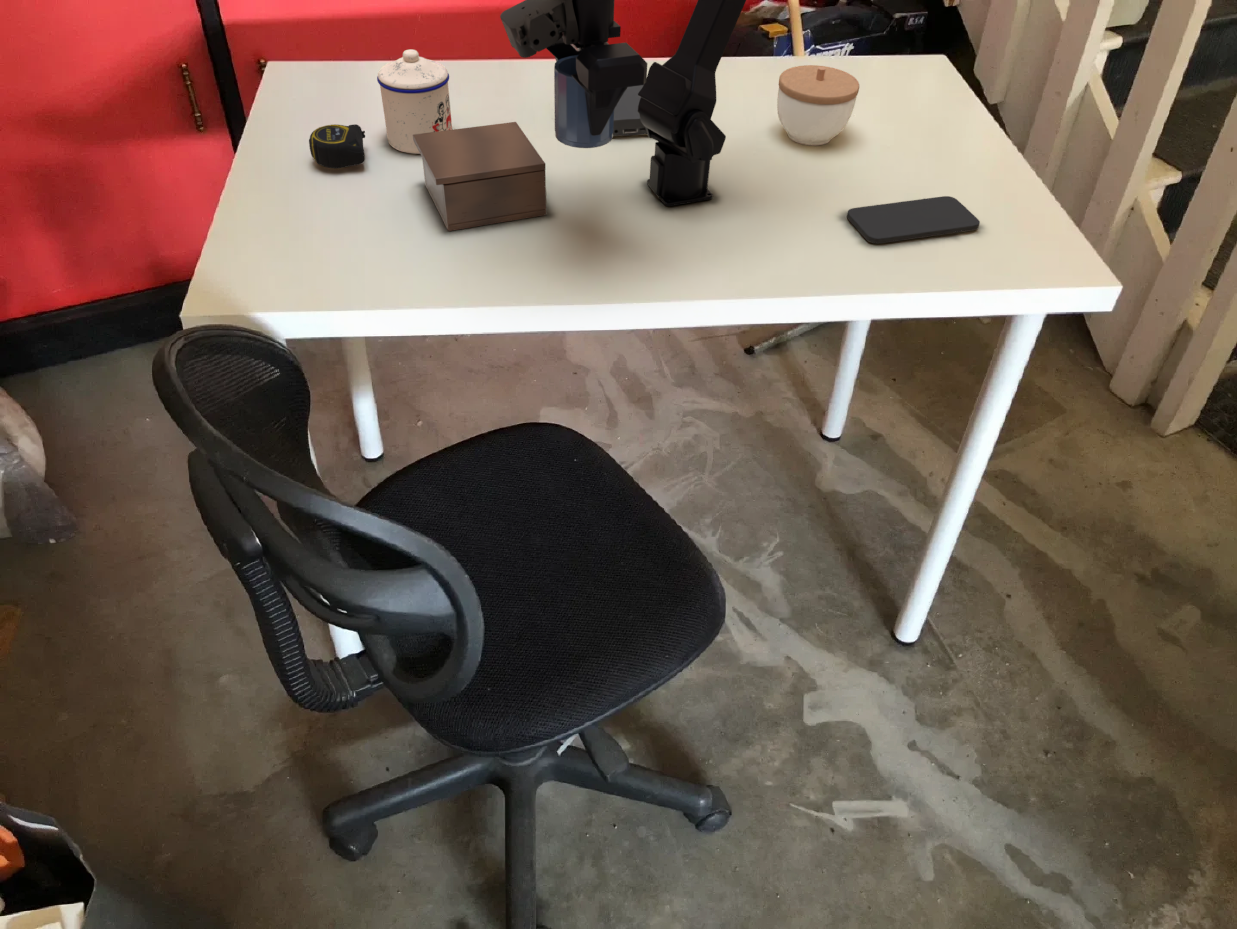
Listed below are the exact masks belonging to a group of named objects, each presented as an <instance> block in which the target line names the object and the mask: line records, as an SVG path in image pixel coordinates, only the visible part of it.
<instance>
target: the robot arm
mask: <svg viewBox="0 0 1237 929" xmlns="http://www.w3.org/2000/svg"><path fill="white" fill-rule="evenodd" d="M615 2H616V0H523V1H521V2H519V3H517V4H515V5H513V6H511V7H509V8H506V9H505V10H504V11H502V12H501V13H500V15H499V18H500V21H501V22H502V26H503V28H504V30H505V33H506V35H507V38H508V41H509V43H510V46H511V47H512V48H513V49H514V50H515V51H516V52H517V53H518V56H519V57H520V58H522V59H523V58H524V59H528V58H530V57H533V56H536V54H537V53H539V52H541V51H544V50H545V49H546V50H547V51H548V52H549V53H550V54H551V55H552V56H553V57H554V58H555V63H556V62H557V61H558V60H559V59H562V58H565V57H568V56H574V55H578V56H577V57H576V70H577V74H573V75H572V77H573V78H574V79H575V80H576V81H577V83H578V84H579V85H580V86H581V87H582V88H584V90H585V97H586V105H587V114H588V122H589V128H590V134H591V135H592V136H596V135H600V134H601V133H602V131H603V129H604V128H605V126H606V124H607V122H608V120H609V118H610V116H611V114H612V113H613V111H614V109H615V107H616V105H617V103H618V102H619V100H620V98H621V97H622V95H623V94H624V92H625V90H626V89H627V87H632V86H639V85H643V87H642V89H641V90H640V91H639V93H638V96H640V97H641V98H640V101H639V105H638V113H639V115H640V120H641V122H642V124H643V125H644V126H645V128H646V132H647V134H646V135H647V137H649V138H650V139H653V140H655V141H656V142H655V143H654V155H651V157H650V164H649V165H650V166H649V168H650V169H649V178H648V179H647V180H646V183H647V185H648V187H649V188H650V189H651V190H652V192H653V193H654V194H655V195H656V197H657V198H658V199H659V200H660V202H662V204H663V205H664V206H666V207H674V206H680V205H686V204H691V203H697V202H702V201H710V200H712V199H714V194H713V193H712V191H711V190H710V189H709V188H708V186H709V179H710V178H709V177H710V169H711V161H712V160H713V157H715V156H717V155H719V154H720V153H721V152H722V150H723V147H724V144H725V141H726V134H725V133H724V132H723V131H722V129H720V128H719V127H718V125H717V124H716V123H715V122H714V121H713V120H712V116H713V115H714V114H713V113H714V111H715V107H716V104H717V83H716V72H717V70H718V67H719V64H720V62H721V59H722V57H723V55H724V53H725V50H726V48H727V46H728V43H729V41H730V39H731V36H732V35H733V32H734V30H735V27H736V25H737V23H738V21H739V18H740V16H741V13H742V11H743V8H744V6H745V5H746V2H747V0H697V1H696V4H695V6H694V9H693V11H692V14H691V16H690V19H689V22H688V24H687V25H686V29H685V31H684V33H683V35H682V38H681V40H680V43H679V45H678V48H677V50H676V52H675V53H674V55H672V56H671V57H670V58H668V60H666V61H665V62H663V64H661V63H659V62H657V61H653V63H652V64H651V65H650V66H649V69H648V62H647V61H646V60H645V59H644V57H642V56H641V55H640V54H639V52H637V51H636V50H635V49H634V48H633V47H632V46H630V44H628V42H618V43H609V39H613V38H620V37H621V31H622V30H621V28H622V27H621V25H620V24H618V23H617V22H616V20H615Z"/></svg>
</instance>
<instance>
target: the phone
mask: <svg viewBox="0 0 1237 929" xmlns="http://www.w3.org/2000/svg"><path fill="white" fill-rule="evenodd" d="M846 218H847V220H848V221H849V222H850V224H852V226H853V227H854V228H855V229H856V230H857V231H858V232H859V234H860V235H861V236H862V237H863V238H864V239H865V241H867V242H868V243H871V244H876V245H877V244H885V243H886V244H887V243H893V242H900V241H907V240H915V239H920V238H921V239H922V238H928V237H935V236H942V235H943V236H944V235H950V234H957V233H964V232H970V231H971V232H972V231H975V230H978V229H979V227H980V224H981V222H980V220H979V219H978V218H977V217H976V216H975V215H974V214H973V213H972V212H971V211H970V210H969V209H968V208H967V207H965V205H963V203H961V202H960V200H958V199H957V198H955V197H954V196H948V195H944V196H943V195H942V196H936V197H928V198H919V199H912V200H905V201H897V202H890V203H881V204H874V205H867V206H859V207H853V208H850V209H848V210H847V212H846Z"/></svg>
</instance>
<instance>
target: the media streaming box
mask: <svg viewBox="0 0 1237 929" xmlns="http://www.w3.org/2000/svg"><path fill="white" fill-rule="evenodd" d="M642 87H643V85H639V86H632V87H627V89H626V90H625V92H624V94H623V95H622V97H621V98H620V100H619V102H618V103H617V105H616V107H615V109H614V125H613V137H623V136H624V137H625V136H626V137H627V136H640V135H642V136H643V135H647V132H646V128H645V126H644V125H643V124H642V122H641V120H640V115H639V113H638V105H639V101H640V98H641V97H640V96H638V93H639V91H640V90H641V89H642Z"/></svg>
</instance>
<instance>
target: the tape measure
mask: <svg viewBox="0 0 1237 929" xmlns="http://www.w3.org/2000/svg"><path fill="white" fill-rule="evenodd" d="M365 134H366V132H365V130H362V127H361V126H360V125H359V124H358V123H357V124H355V123H354V124H349V125H345V124H326V125H323V126H319V127H317V128H316V129H314V130H313V131H312V132H311V133H310V135H309V139H308V144H309V146H308V147H309V150H310V151H309V152H310V155H311V157H312V159H313V160H314V161H315V162H316V164H318V165H320V166H322V167H325V168H327V169H328V168H329V169H330V168H331V169H342V168H347V167H353V166H359V165H362V164H364V162H365V160H366V158H365V149H364V139H365V138H366V135H365Z"/></svg>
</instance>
